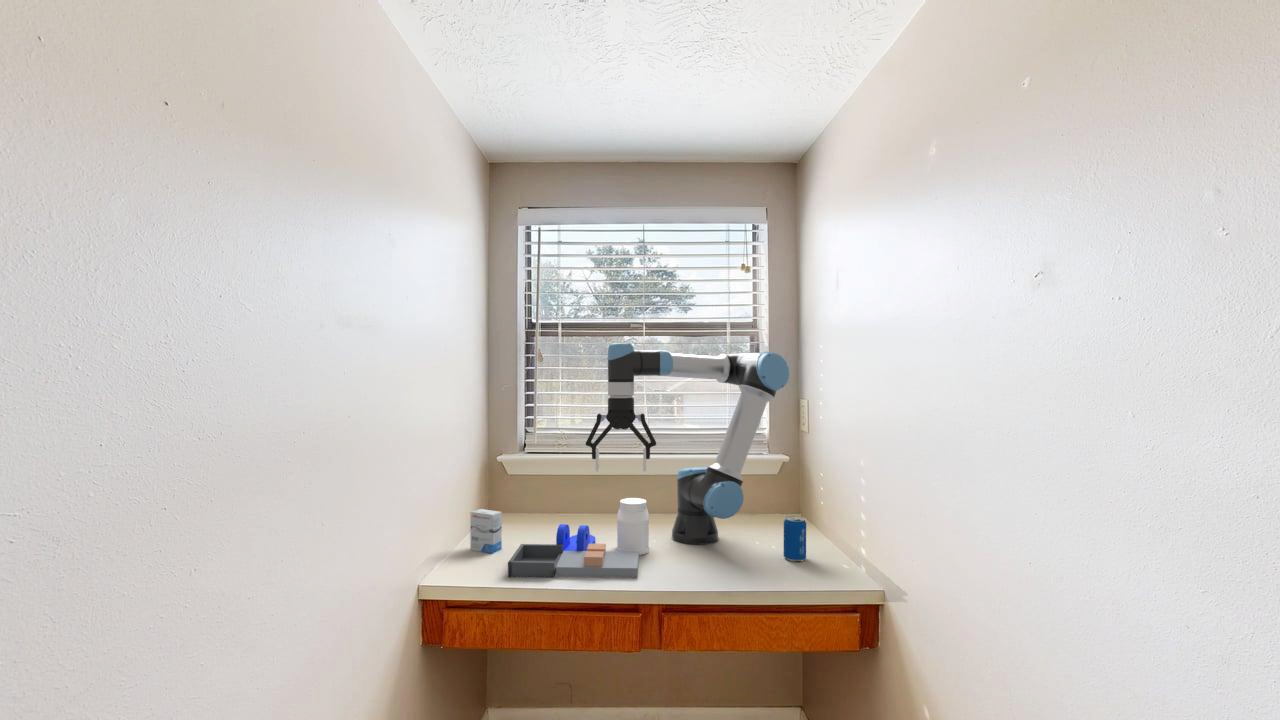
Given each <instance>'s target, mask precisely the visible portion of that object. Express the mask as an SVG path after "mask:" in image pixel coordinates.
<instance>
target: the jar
mask: <svg viewBox="0 0 1280 720" xmlns="http://www.w3.org/2000/svg"><path fill="white" fill-rule="evenodd" d="M649 514H650V513H649V510H648V508H647V500H646V499H645V498H639V497H626V498H622V499H620V500H619V508H618V511H617V517H616V518H617V519H616V520H617V526H616V527H617V539H616V542H617V543H616V551H621V552H639V556H643V555H646V553H647V554H648V553H650V552H649V551H650V548H649V540H650V539H649V535H650V534H649V529H650V528H649V525H650V524H649V523H650V515H649ZM642 554H643V555H642Z"/></svg>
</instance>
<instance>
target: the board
mask: <svg viewBox="0 0 1280 720" xmlns="http://www.w3.org/2000/svg"><path fill="white" fill-rule="evenodd" d="M585 553H586V551H563V553H562V555H561V557H560V559H559V561H558V564H557V566H556V575H555V577H557V578H558V577H561V578H562V577H564V578H565V577H569V578H570V577H572V578H573V577H575V578H631V577H637V578H638V573H639V558H640V557H639V556H640V555H639V552H621V551H617V550H616V551H611V550H606V554H605V558H604V562H603V566H602V567H599V566H584V556H585Z"/></svg>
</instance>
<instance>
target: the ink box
mask: <svg viewBox="0 0 1280 720" xmlns="http://www.w3.org/2000/svg"><path fill="white" fill-rule="evenodd" d="M502 514H503V513H502V511H499V510H489V509H486V508H485V509H483V508H479V509H476V510H473V511H471V512H470V542H469V543H470V545H469V546H470V547H469V548H470V549H469V550H470V551H475V552H481V553H488V554H494V553H496V552H499V551H500V550H502V546H503V545H502V542H503V541H502V540H503V539H502V538H503V537H502V532H503V531H502V530H503V529H502V528H503V527H502V525H503V523H502V522H503V521H502V520H503V519H502V518H503V517H502V516H503V515H502Z"/></svg>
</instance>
